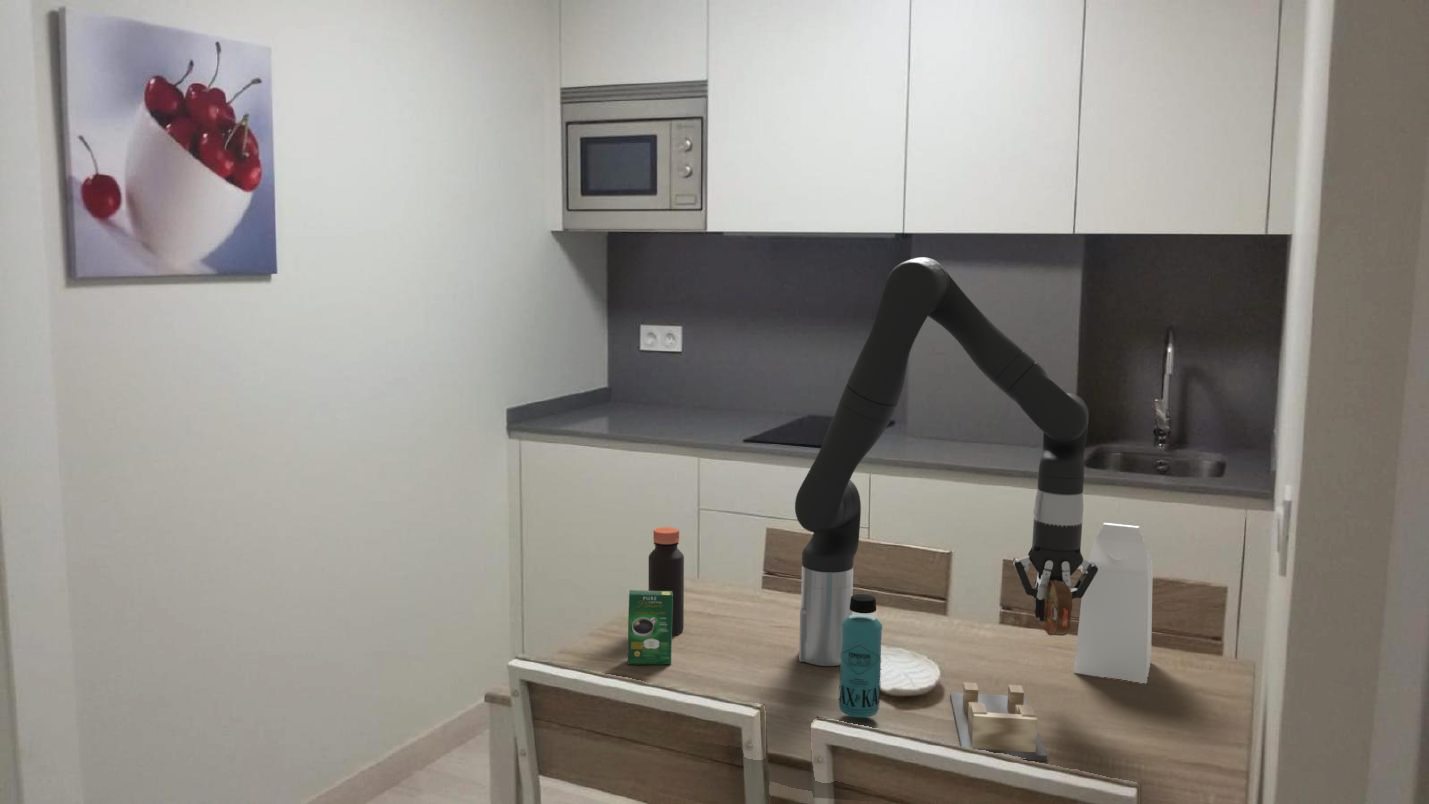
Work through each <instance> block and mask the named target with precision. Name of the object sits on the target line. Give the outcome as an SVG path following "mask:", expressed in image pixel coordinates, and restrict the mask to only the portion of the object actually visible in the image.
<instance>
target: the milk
mask: <svg viewBox="0 0 1429 804" xmlns="http://www.w3.org/2000/svg"><path fill="white" fill-rule="evenodd" d="M1147 545H1148V544H1147V543H1146V539H1145V537H1144V535H1143V533H1142V529H1141V527H1140V525H1129V524H1120V523H1111V522H1103V524H1102V525H1101V528H1100V530H1099V532H1098V534H1097V535H1096V537H1095V540H1094V543H1093V545H1092V549H1091V550H1090V554H1089V556H1088V558H1087V561H1088V562H1093V563H1094V564H1095V565H1096V566H1097V568H1098V571H1097V573H1096V575H1095V576H1094V578H1093V580H1092V582H1091V583H1090V585H1089V587H1088V588H1087V590H1086V592H1085V594H1084V595H1083V597H1082V598H1080V599H1081V600H1080V610H1079V618H1078V619H1079V620H1078V628H1077V637H1076V645H1075V646H1076V647H1075V654H1074V655H1075V656H1074V666H1073V673H1074V674H1079V675H1085V676H1090V677H1091V676H1092V677H1097V676H1098V678H1104V677H1111V678H1117V679H1122V680H1121V681H1123V680H1128V681H1127V682H1129V681H1134V682H1133V683H1135V682H1140V683H1139V684H1142V683H1145V684H1144V685H1147V684H1146V683H1148V679H1147V677H1149V674H1148V673H1150V669H1149V668H1151V665H1150V663H1152V627H1153V626H1152V624H1153V623H1152V621H1153V619H1152V618H1153V573H1154V572H1153V570H1154V568H1153V559H1152V556H1151V552H1150V551H1149V548H1148V546H1147Z"/></svg>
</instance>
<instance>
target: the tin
mask: <svg viewBox="0 0 1429 804" xmlns="http://www.w3.org/2000/svg"><path fill="white" fill-rule="evenodd" d="M1037 575H1038V573H1037ZM1037 575H1036V577H1035V581H1034V587H1036V583H1037ZM1034 599H1035V597H1034V596H1033V600H1034ZM1044 599H1045V611H1044V621H1039V620H1038V618H1036V620H1037V622H1039V624H1040V625H1041V627H1042V628H1043V629H1044V631H1045V632H1046V634H1047V635H1048V636H1058V637H1059V636H1062V637H1063V636H1067V635H1068V634H1069V632H1070V629H1071V620H1072V619H1071V618H1072V611H1073V599H1072V596H1071V592H1070V589H1069V587H1068V586H1067V585H1066V584H1065V583H1063V582H1062V580H1058V579H1051V580H1049V583H1048V586H1047V588H1046V592H1045V596H1044Z"/></svg>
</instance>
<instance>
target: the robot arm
mask: <svg viewBox="0 0 1429 804" xmlns="http://www.w3.org/2000/svg"><path fill="white" fill-rule="evenodd" d="M885 280H886V281H885V284H884V287H883V290H882V294H881V297H880V301H879V304H878V306H877V307H878V308H877V310H876V311H877V312H876V314H875V318H874V322H873V324H872V327H871V330H870V333H869V335H868V338H867V339H866V341H865V343H864V346H863V347H862V349H861V351H860V352H859V353H860V354H859V356H858V358H857V360H856V362H855V364H854V367H853V368H852V370H851V373H850V375H849V377H848V380H847V382H846V384H845V387H844V389H843V391H842V394H841V396H840V399H839V401H838V405H837V407H836V410H835V413H834V415H833V417H832V419H831V421H830V424H829V427H828V430H827V432H826V434H825V437H824V439H823V442H822V444H821V447H820V449H819V451H818V453H817V455H816V457H815V459H814V462H813V463H812V465H811V467H810V468H809V470H808V472H807V474H806V476H805V477H804V480H803V481H802V483H801V485H800V487H799V489H798V490H797V494H796V496H795V501H794V513H795V517H796V518H797V519H796V520H797V521H798V523H799V524H800V526H801V527H802V528H803V529H804V530H806V531H808V532H810V533H813V534H812V536H811V538H810V539H809V541H808V543H807V544H806V545H805V546H804V548H803V549H802V554H801V588H800V589H801V591H800V594H801V595H800V596H801V597H800V611H799V613H800V614H799V650H798V651H799V652H798V653H799V658H798V659H799V660H798V661H799V662H802V663H807V664H811V665H813V666H814V665H815V666H821V667H835V666H837V667H838V666H841V658H840V657H841V656H840V655H841V650H842V622H843V621H844V620H845V619H846V618H847V617H849V616H850V615H852V614H853V611H851V610H850V601H851V596H853V595H854V594H853V592H854V591H853V588H854V587H853V585H854V581H853V580H854V561H855V556H856V554H857V551H858V548H859V544H860V543H859V541H860V530H861V529H860V527H861V517H862V515H861V514H862V513H861V512H862V505H861V496H860V493H859V489H858V488H857V486H856V484H854V481H852V480H851V478H852V476H853V474H854V473H855V470H856V469H857V467H858V466H859V464H860V463H861V462H862V460H863V459H864V457H866V456H867V454H868V453H869V452H870V450H871V449H872V448H873V447H874V446H875V444H876V443H877V442H878V440H880V438H881V437H882V435H883V434H884V432H885V430H886V429H887V427H888V426H889V423H890V421H891V420H892V417H893V414H894V412H895V409H896V408H897V405H898V403H899V400H900V398H901V395H902V392H903V388H904V384H905V380H906V379H905V378H906V374H907V367H908V363H909V357H910V353H911V350H912V348H913V344H914V343H915V340H916V338H917V336H918V335H919V332H920V331H921V329H922V327H923V326H924V323H925V322H926V320H927V318H930V319H932V320H933V321H935V322H936V323H937V324H939V325H940V326H942V328H944V329H945V330H946V331H947V332H948V333H949V334H950V335H952V337H953V338H954V339H955V340H956V341H957V342H958V343H959V345H960V346H961V347H962V349H963V350H964V351H965V352H966V354H967V355H968V357H969V358H970V359H971V361H973V363H974V364H975V366H976V367H977V368H978V369H979V370H980V371H981V373H983V374H984V376H985V377H986V378H988V379H989V380H990V381H991V383H993V384H995V386H997V388H999V390H1001V391H1002V392H1003V393H1004V394H1006V396H1007V397H1008V398H1010V399H1011V400H1013V401H1014V402H1015V403H1016V405H1018V406H1019V407H1020V409H1021V410H1022V411H1023V412H1024V413H1025V414H1026V416H1028V418H1029V419H1030V420H1031V421H1032V422H1033V423H1034V424H1035V425H1036V426H1037V427H1038V428H1039V430H1041V431H1042V432H1043V436H1042V437H1043V438H1042V441H1043V442H1042V454H1041V457H1040V459H1039V466H1038V474H1037V476H1038V477H1037V489H1036V495H1035V500H1034V508H1033V526H1032V542H1031V548H1030V550H1029V551H1028V553H1027V555H1025V556H1023V557H1020V558H1019V557H1014V558H1012V563H1013V567H1014V568H1015V571H1016V573H1017V575H1018V577H1019V580H1020V582H1021V585H1022V588H1023V590H1024V592H1025V593H1026V595H1028V596H1031V597H1033V614H1034V616H1035V618H1036V619H1037V618H1038V620H1039V621H1044V611H1045V599H1044V596H1045V592H1046V588H1047V586H1048V583H1049V580H1051V579H1058V580H1062V582H1063V583H1065V584H1066V585H1067V586H1068V587H1069V589H1070V592H1071V596H1072V600H1074V599H1082V597H1083V595H1084V594H1085V592H1086V590H1087V588H1088V587H1089V585H1090V583H1091V582H1092V580H1093V578H1094V576H1095V575H1096V573H1097V571H1098V568H1097V566H1096V565H1095V564H1094V563H1093V562H1088V560H1086V559H1085V558H1084V557H1083V555H1082V552H1081V546H1082V531H1083V519H1084V493H1083V492H1084V479H1085V460H1084V459H1085V452H1086V443H1087V438H1088V436H1087V435H1088V428H1089V422H1090V421H1089V419H1090V413H1089V408H1088V406H1087V404H1086V403H1085V401H1084V399H1082V398H1081V397H1080V396H1078V395H1076V394H1073V393H1069V392H1065V391H1064V389H1062V388H1061V387H1060V386H1059V385H1058V384H1056V382H1055V381H1053V380H1052V379H1051V378H1050V377H1049V375H1048V373H1047V371H1046V370H1045V369H1044V368H1043V366H1042V365H1040V363H1038V362H1037V361H1036V360H1035V359H1034V358H1033V357H1031V355H1029V354H1028V353H1027V352H1026V351H1025V350H1024V349H1023V348H1021V347H1020V346H1019V345H1018V344H1017V343H1016V342H1014V340H1012V339H1011V338H1010V337H1009V336H1008V335H1006V334H1005V333H1004V332H1003V331H1002V330H1001V329H1000V328H998V326H996V325H995V324H994V323H993V322H992V321H991V320H990V318H988V317H987V316H986V315H985V314H984V313H983V312H982V311H981V310H980V309H979V308H978V307H977V306H976V305H975V304H974V303H973V301H972V300H971V299H970V298H969V296H967V295H966V293H964V291H963V290H962V288H961V287H960V286H959V285H958V284H957V283H956V281H955V280H954V278H953V277H952V276H951V275H950V274H949V272H948V271H947V270H946V269H945V267H943V265H942V264H940V263H939V262H938V261H937V260H935V259H932V258H931V257H930V258H929V257H923V256H922V257H921V256H920V257H915V258H911V259H908V260H906V261H902V262H901V263H899V264H897V265H896V266H895V267H894V268H893V269H892V271H890V273H889V274H888V276H887V279H885ZM1030 563H1031V564H1032V566H1033V568H1034V569H1035V571H1037V574H1038V575H1036V577H1037V583H1036V587H1035V586H1033V585H1031V582H1030V580H1029V578H1028V577H1029V576H1028V574H1027V571H1029V564H1030ZM1079 567H1080V572H1081V574H1080V576H1079V578H1078V580H1077V581H1076V583H1075V585H1074V586H1073V588H1072V582H1071V577H1072V575H1073V574H1074V573H1075V572H1076V571H1077V570H1078V569H1079ZM1034 597H1035V599H1034ZM1038 620H1037V621H1038ZM1039 621H1038V622H1039Z"/></svg>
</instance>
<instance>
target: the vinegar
mask: <svg viewBox="0 0 1429 804" xmlns="http://www.w3.org/2000/svg"><path fill="white" fill-rule="evenodd" d="M679 542H680V530H679V529H678V528H677V527H670V526H668V527H667V526H663V527H656V528H654V529H653V545H654V549H653V550H651V552H650V553H649V554H648V591H672V593H673V617H672V637H673V636H676V635H679V634H681V633H682V632H683V631H684V624H685V623H684V621H685V619H684V614H685V613H684V609H685V607H684V606H685V603H684V601H685V599H684V598H685V595H684V594H685V592H684V591H685V557H684V556H685V555H684V554H683V552H681V550H680V549H679V548H678V545H679V544H680V543H679Z"/></svg>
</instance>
